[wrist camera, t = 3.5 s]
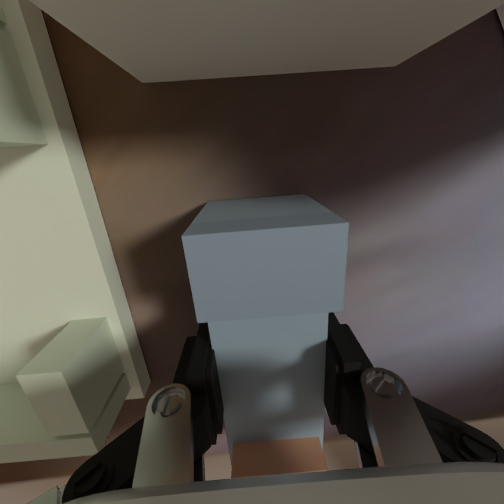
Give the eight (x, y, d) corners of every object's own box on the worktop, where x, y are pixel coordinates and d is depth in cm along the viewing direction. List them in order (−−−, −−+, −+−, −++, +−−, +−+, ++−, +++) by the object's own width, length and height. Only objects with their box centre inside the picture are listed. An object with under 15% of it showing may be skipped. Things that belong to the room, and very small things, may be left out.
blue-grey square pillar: (304, 193, 10) (349, 222, 6) (304, 402, 15) (330, 507, 10) (207, 201, 10) (181, 236, 6) (236, 407, 15) (232, 515, 10)
